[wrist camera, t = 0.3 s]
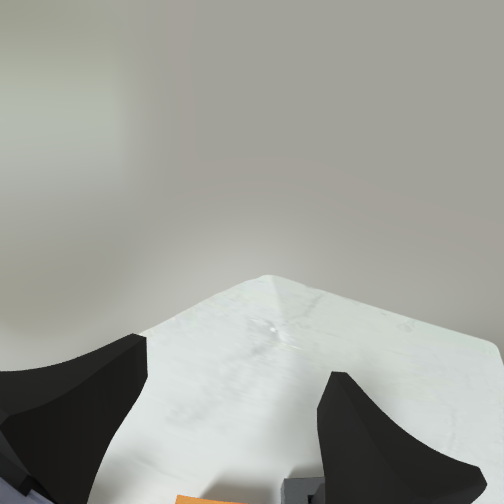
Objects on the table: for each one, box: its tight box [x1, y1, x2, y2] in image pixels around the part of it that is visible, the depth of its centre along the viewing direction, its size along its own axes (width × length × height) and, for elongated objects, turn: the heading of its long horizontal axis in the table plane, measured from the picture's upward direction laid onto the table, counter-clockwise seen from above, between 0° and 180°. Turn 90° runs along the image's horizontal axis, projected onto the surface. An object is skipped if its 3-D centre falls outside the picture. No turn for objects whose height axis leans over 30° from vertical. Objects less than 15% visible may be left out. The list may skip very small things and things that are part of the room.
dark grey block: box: [311, 483, 325, 504], centre depth 16 cm, size 3×3×4 cm
